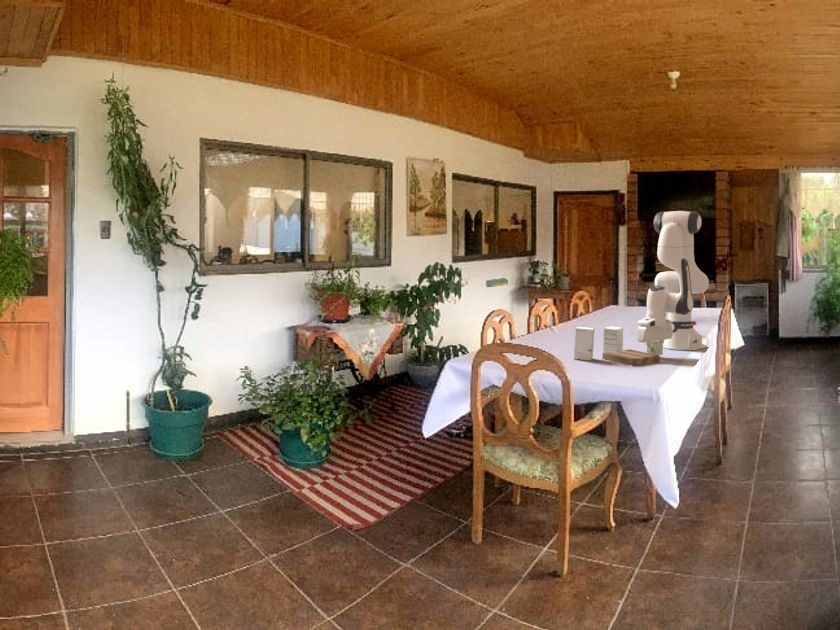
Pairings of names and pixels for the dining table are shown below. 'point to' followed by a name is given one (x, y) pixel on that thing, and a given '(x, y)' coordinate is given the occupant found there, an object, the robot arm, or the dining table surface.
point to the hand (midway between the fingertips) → (654, 349)
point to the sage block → (656, 348)
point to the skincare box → (584, 343)
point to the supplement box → (613, 339)
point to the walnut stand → (631, 357)
